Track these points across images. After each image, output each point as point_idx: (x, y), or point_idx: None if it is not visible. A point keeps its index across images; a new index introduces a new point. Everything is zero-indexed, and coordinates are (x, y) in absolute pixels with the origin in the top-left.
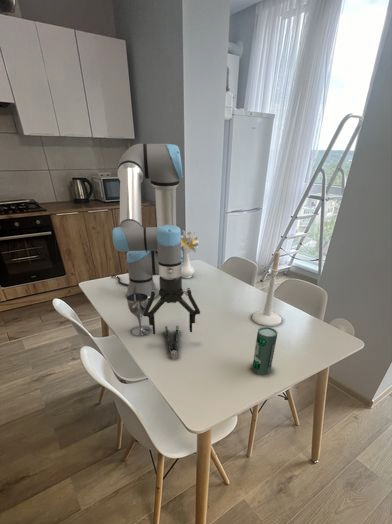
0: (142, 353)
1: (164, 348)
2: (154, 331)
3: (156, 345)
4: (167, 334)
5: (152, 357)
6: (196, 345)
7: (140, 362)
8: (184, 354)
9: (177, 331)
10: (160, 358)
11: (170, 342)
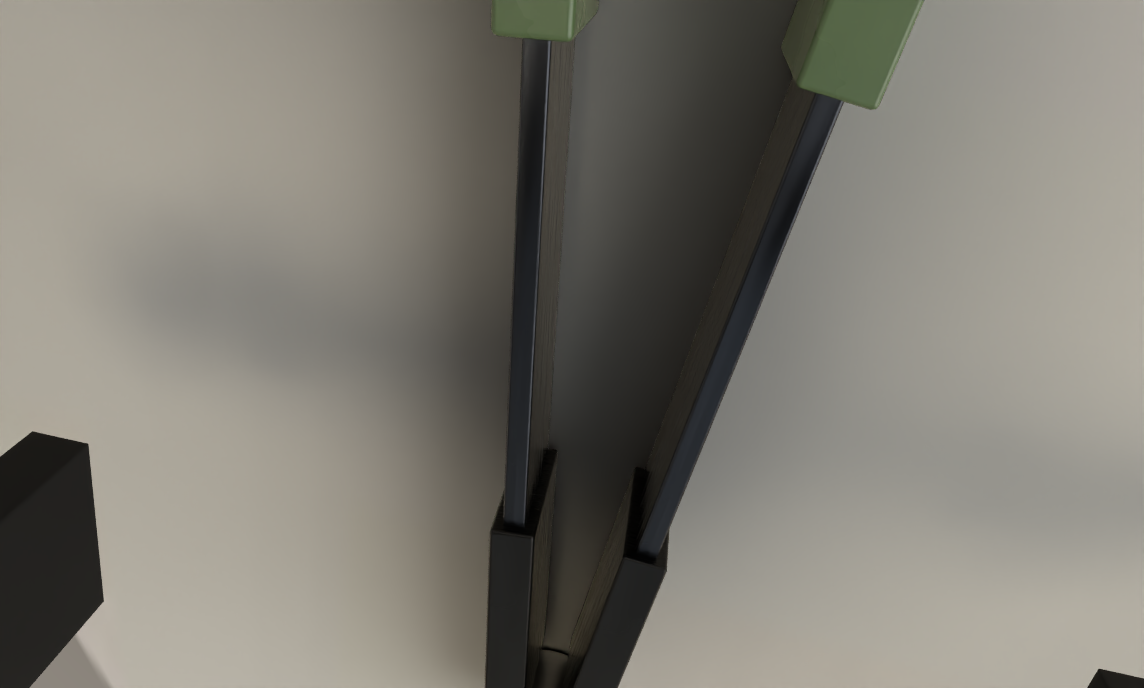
0: None
1: (434, 431)
2: (41, 656)
3: (295, 297)
4: (517, 222)
5: (228, 584)
6: (1059, 527)
7: None
8: (728, 672)
9: (833, 120)
10: (345, 639)
11: (517, 567)
